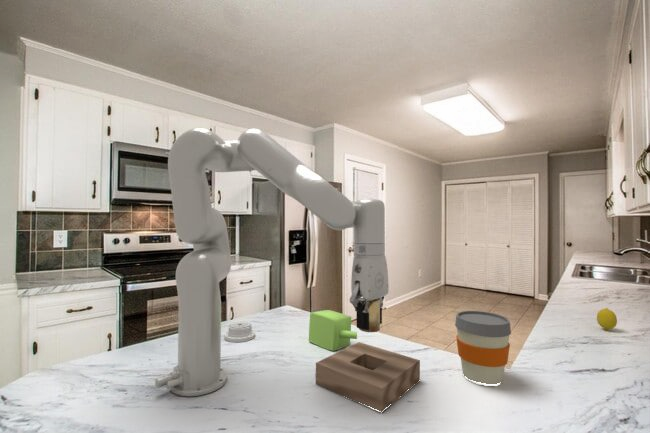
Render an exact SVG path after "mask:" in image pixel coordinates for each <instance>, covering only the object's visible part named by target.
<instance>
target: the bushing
mask: <svg viewBox="0 0 650 433" xmlns="http://www.w3.org/2000/svg"><path fill="white" fill-rule="evenodd" d="M361 303H362V305H363V306H364V301H361ZM367 312H368V313H369V330H363V329H360V328H358V330H359V331H361V332H365V333H377V332H379V331H380V329H381V324H380V300H379V299H375V300H372V301H369V303H368V310H367Z"/></svg>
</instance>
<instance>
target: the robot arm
mask: <svg viewBox="0 0 650 433" xmlns="http://www.w3.org/2000/svg"><path fill="white" fill-rule="evenodd" d="M207 170H209V171H211V172H214V173H215V172H216V173H232V172H233V173H237V172H251V171H252V172H253V171H257V173H259V174H260V175H261V176H263V177H264V178H265V179H266V180H268V181H269V182H270V183H271V184H272V185H274V186H275V187H276V188H277V189H279V190H280V191H281V192H282V193H284V194H285V195H287V196H288V197H290V198H292V199H293V200H296V201H297V202H298V203H299V204H301V205H302V206H304V207H305V208H306V209H308V211H309V212H310V213H312V214H314V216H316V217H317V218H318V219H319V220H321V221H322V222H323V223H324V224H325V225H326V226H327V227H329V228H330V229H332V230H334V231H335V230H336V231H342V230H346V229H351V228H352V229H353V260H352V266H351V282H350V284H351V285H350V288H351V291H350V292H351V295H350V296H349V303H350V304H351V305H352V306H353V307H354V311H355V312H356V328H357V329H359V328H360V329H363V330H369V313H368V312H367V310H368V303H369V301H372V300H375V299H379V300H380V325H382V324H383V307H384V299H385V297H386V296H387V295H388V294H389V273H388V272H389V271H388V264H387V257H386V237H385V236H386V235H385V234H386V230H385V229H386V227H385V226H386V223H385V222H386V220H385V219H386V218H385V216H386V212H385V210H386V209H385V203H384V202H383V201H382V200H380V199H374V198H372V199H370V198H369V199H368V198H367V199H359V200H355V201H351V200H350V199H349V198H348V197H347V196H346V195H344V193H342V192H341V191H339V190H338V189H337V188H336V187H334V186H333V185H332V184H331V183H329V182H328V181H327V180H326V179H324V178H323V177H321V176H320V175H319V174H317V173H316V172H315V171H313V170H312V169H311V168H310V167H309V166H307V164H305V163H303V162H302V161H301V160H300V159H298V158H297V157H296V156H295V155H294V154H292V153H291V152H290V151H289V150H287V148H285V147H284V146H282V145H281V143H279V142H278V141H277V140H276V139H275V138H273V137H271V136H270V135H269V134H268V133H266V132H265V131H264V130H261V129H259V128H248V129H246V130H244V131H243V132H242V133H241V134H240V135H239V137H238V139H237V140H224V139H223V138H222V137H221V136H220V135H218V134H217V133H215V132H214V131H212V130H210V129H207V128H203V127H194V128H191V129H189V130H187V131H184V132H183V133H182V134H180V135H179V136H178V137H177V138H176V139H175V141H174V142H173V144H172V146H171V148H170V150H169V154H168V158H167V172H168V178H169V184H170V192H171V201H172V208H173V209H172V211H173V217H174V218H173V219H174V226H175V227H174V228H175V232H176V235H177V236H178V238H179V240H181V241H182V242H183V243H184V244H188V245H192V246H193V251H191V252H189V253H187V254H185V255H184V256H183V257H182V258H181V259H180V260H179V262H178V264H177V267H176V269H175V284H176V290H177V299H178V300H177V301H178V302H177V303H178V317H177V318H178V325H177V326H178V329H177V330H178V332H177V334H178V336H177V337H178V339H177V340H178V341H177V365H176V366H173V370H172V372H170V373H169V375H168V374H167V375H164V376H161V377H159V378H158V377H157V378H156V379H155V380H154V382H155V387H156V389H159V388H163V387H164V386H166V387H165V388H166V389H170V390H171V392H172V393H174V394H175V395H177V396H182V397H196V396H197V397H198V396H202V395H203V396H204V395H207V394H209V393H210V394H211V393H212V392H215V391H217V390H219V389H220V388H222V387H223V386H224V385H225V383H227V380H228V373H227V371H226V370H225V369H223V368H221V363H222V362H221V360H222V358H221V356H222V355H221V350H222V347H221V346H222V299H221V290H220V282H222V281H223V280H224V279H225V278H226V277H227V276H228V275H229V274H230V271H231V268H232V256H231V249H230V241H229V240H230V239H229V233H228V226H227V222H226V219H225V217H224V216H223V214H222V213H221V211H219V210H218V209H216V208H215V207H213V206H212V200H211V195H210V194H211V193H210V186H209V182H208V178H207V175H206V174H207V173H206V171H207ZM361 301H364V306H363V305H362V303H361ZM360 329H359V330H360Z"/></svg>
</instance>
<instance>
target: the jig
mask: <svg viewBox="0 0 650 433" xmlns="http://www.w3.org/2000/svg"><path fill="white" fill-rule="evenodd" d="M419 380H420V381H421V360H420V359H417V358H413V357H412V356H411V357H410V356H408V355H403V354H400V353H397V352H394V351H390V350H387V349H384V348H380V347H377V346H374V345H370V344H366V343H364V342H362V341H361V342H360V341H358V342H355V343H354V344H352V345H349V346H347V347H344V348H342V350H340V351H337V352H335V353H333V354H331V355H329V356H328V357H325V358H323V359H321V360H319V361H317V362H315V385H317V386H319V387H321V388H324V389H326V390H328V391H330V392H333V393H335V394H337V395H339V396H341V395H342V397H343V396H345V397H344V398H346V397H347V398H346V399H348V398H349V399H348V400H350V399H352V400H355V401H357V402H360V403H362V404H365V405H367V406H370V407H372V408H374V409H377V410H379V411H381V412H382V411H383V410H384V409H385V408H386V407H388V406H389V405H390V404H392V403H393V402H394V401H396V400H397V399H398V398H399V397H400V396H402V395H403V394H404V393H405V392H406V391H407V390H408V389H410V388H411V387H412V386H413V385H414V384H416V383H417V382H418V381H419ZM420 381H419V382H420ZM419 382H418V383H419ZM418 383H417V384H418ZM417 384H416V385H417ZM414 386H415V385H414ZM414 386H413V387H414ZM413 387H412V388H413ZM412 388H411V389H412ZM411 389H410V390H411ZM407 392H408V391H407ZM407 392H406V393H407ZM406 393H405V394H406ZM405 394H404V395H405ZM404 395H403V396H404ZM403 396H402V397H403ZM400 398H401V397H400ZM400 398H399V399H400ZM399 399H398V400H399ZM352 400H351V401H352ZM398 400H397V401H398ZM355 401H354V402H355ZM397 401H396V402H397ZM357 402H356V403H357ZM393 404H394V403H393ZM393 404H392V405H393Z"/></svg>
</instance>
